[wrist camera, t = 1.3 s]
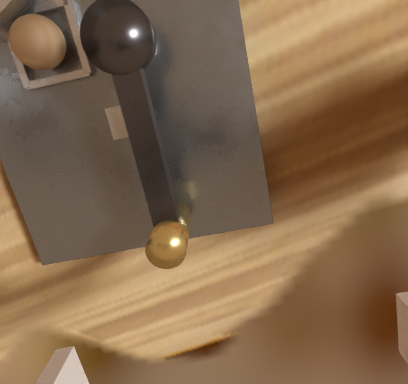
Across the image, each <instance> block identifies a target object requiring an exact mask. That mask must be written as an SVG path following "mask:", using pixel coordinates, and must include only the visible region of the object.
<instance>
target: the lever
mask: <svg viewBox="0 0 408 384" xmlns="http://www.w3.org/2000/svg"><path fill="white" fill-rule="evenodd" d="M80 40H81V44H82V47H83V50H84V52H85V54H86V56H87V57H88V59H89V60H90V61H91V62H92V63H93V64H94V65H95V66H96V67H97V68H99V69H100V70H102V71H104V72H106V73H109V74H111V75H112V78H113V82H114V86H115V89H116V93H117V96H118V100H119V104H120V106H116V107H111V108H107V109H105V112H106V115H107V119H108V122H109V126H110V129H111V133H112V136H113V139H114V140H117V139H122V138H126V137H129V140H130V143H131V147H132V151H133V154H134V158H135V161H136V165H137V169H138V172H139V176H140V180H141V183H142V187H143V190H144V194H145V198H146V201H147V205H148V208H149V212H150V216H151V219H152V223H153V229H152V232H151V234H150V237H149V239H148V241H147V244H146V247H145V252H146V256H147V258H148V260H149V261H150V262H151V263H152V264H153V265H155V266H156V267H159V268H162V269H171V268H174V267H176V266H178V265H180V264H181V263H182V261H183V260H184V258H185V255H186V249H187V243H188V237H189V230H190V224H191V212H190V210H189V208H188V207H187V206H186V205H185V204H183V203H181V202H177V201H176V197H175V193H174V189H173V185H172V181H171V177H170V172H169V168H168V164H167V160H166V156H165V152H164V148H163V144H162V140H161V136H160V132H159V128H158V124H157V120H156V116H155V112H154V108H153V104H152V100H151V96H150V92H149V88H148V84H147V80H146V76H145V72H144V69H145V68H146V67H147V66H148V65H149V64H150V62H151V61H152V59H153V56H154V54H155V50H156V34H155V30H154V27H153V25H152V23H151V21H150V19H149V18H148V17H147V15H146V14H145V13H144V12H143V11H142V10H141V9H140V8H139V7H138V6H137V5H136V4H135V3H134V2H132V1H130V0H96V1H95V2H93V3H92V4H91V5H90V6H89V7H88V9H87V10H86V12H85V13H84V15H83V18H82V21H81V25H80Z"/></svg>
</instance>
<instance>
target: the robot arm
mask: <svg viewBox="0 0 408 384" xmlns="http://www.w3.org/2000/svg"><path fill="white" fill-rule="evenodd" d="M396 301H397V319H398V340H399V352H400V353H401V355H402V356H403V358H404V359H405V360H406V362H407V363H408V292H403V293H397V294H396ZM36 384H89V382H88V380H87V377H86V375H85V373H84V370H83V368H82V365H81V363H80V360H79V358H78V356H77V353H76V351H75V348H74V346H72V347H67V348H61V349H56V351H55V352H54V354H53V356H52V357H51V359H50V361H49V362H48V364H47V365H46V367H45V369H44V371H43V372H42V374H41V376H40V377H39V379H38V380H37V382H36Z"/></svg>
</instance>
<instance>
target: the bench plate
mask: <svg viewBox="0 0 408 384" xmlns="http://www.w3.org/2000/svg"><path fill="white" fill-rule="evenodd" d="M95 1H96V0H0V160H1V163H2V165H3V168H4V170H5V173H6V175H7V178H8V180H9V183H10V185H11V188H12V190H13V193H14V195H15V198H16V200H17V203H18V205H19V208H20V210H21V213H22V215H23V218H24V220H25V223H26V225H27V228H28V230H29V233H30V235H31V238H32V240H33V243H34V245H35V248H36V250H37V253H38V255H39V258H40V260H41V263H42V265H47V264H52V263H58V262H63V261H69V260H74V259H80V258H85V257H91V256H96V255H102V254H107V253H113V252H118V251H124V250H129V249H135V248H140V247H145V246H146V244H147V241H148V239H149V237H150V234H151V232H152V229H153V223H152V219H151V216H150V212H149V208H148V205H147V201H146V198H145V194H144V190H143V187H142V183H141V180H140V176H139V172H138V169H137V165H136V161H135V158H134V154H133V151H132V147H131V143H130V140H129V137H126V138H122V139H117V140H114V139H113V136H112V133H111V129H110V126H109V122H108V119H107V115H106V112H105V109H107V108H111V107H116V106H120V104H119V100H118V96H117V93H116V89H115V86H114V82H113V78H112V75H111V74H109V73H106V72H104V71H102V70H100V69H99V68H97V67H96V66H95V65H94V64H93V63H92V62H91V61H90V60H89V59H88V57H87V56H86V54H85V52H84V50H83V47H82V44H81V40H80V25H81V21H82V18H83V15H84V13H85V12H86V10H87V9H88V7H89V6H90V5H91V4H92V3H93V2H95ZM130 1H132V2H134V3H135V4H136V5H137V6H138V7H139V8H140V9H141V10H142V11H143V12H144V13H145V14H146V15H147V17H148V18H149V19H150V21H151V23H152V25H153V27H154V30H155V34H156V50H155V54H154V56H153V59H152V61H151V62H150V64H149V65H148V66H147V67H146V68H145V69H144V72H145V76H146V80H147V84H148V88H149V92H150V96H151V100H152V104H153V108H154V112H155V116H156V120H157V124H158V128H159V132H160V136H161V140H162V144H163V148H164V152H165V156H166V160H167V164H168V168H169V172H170V177H171V181H172V185H173V189H174V193H175V197H176V201H177V202H181V203H183V204H185V205H186V206H187V207H188V208H189V210H190V212H191V224H190V230H189V237H188V239H189V238H195V237H200V236H206V235H211V234H217V233H222V232H228V231H233V230H239V229H244V228H250V227H255V226H261V225H266V224H272V223H273V217H272V210H271V204H270V198H269V191H268V185H267V179H266V172H265V166H264V160H263V153H262V147H261V141H260V134H259V128H258V122H257V115H256V109H255V103H254V96H253V90H252V84H251V77H250V71H249V65H248V58H247V52H246V46H245V39H244V33H243V27H242V20H241V14H240V8H239V1H238V0H130ZM26 14H38V15H42V16H45V17H47V18H48V19H50V20H52V21H53V22H54V23H55V24H56V25H57V26H58V27H59V28H60V30H61V31H62V33H63V35H64V38H65V41H66V53H65V56H64V58H63V60H62V62H61V63H60V64H59V65H58V66H56V67H54V68H52V69H49V70H37V69H33V68H30V67H28V66H27V65H25V64H23V63H22V62H21V61H20V60H19V59H18V58H17V57H16V56H15V54H14V53H13V51H12V49H11V47H10V44H9V30H10V27H11V25H12V24H13V22H14V21H15V20H16V19H17V18H19V17H20V16H23V15H26Z"/></svg>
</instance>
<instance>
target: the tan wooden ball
mask: <svg viewBox="0 0 408 384" xmlns="http://www.w3.org/2000/svg"><path fill="white" fill-rule="evenodd" d="M9 44H10V47H11V49H12V51H13V53H14V54H15V56H16V57H17V58H18V59H19V60H20V61H21V62H22V63H23V64H25V65H27V66H28V67H30V68H33V69H37V70H49V69H52V68H54V67H56V66H58V65H59V64H60V63H61V62H62V60H63V58H64V56H65V53H66V41H65V38H64V35H63V33H62V31H61V30H60V28H59V27H58V26H57V25H56V24H55V23H54V22H53V21H52V20H50V19H48V18H47V17H45V16H42V15H38V14H26V15H23V16H20V17H19V18H17V19H16V20H15V21H14V22H13V24H12V25H11V27H10V30H9Z"/></svg>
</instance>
